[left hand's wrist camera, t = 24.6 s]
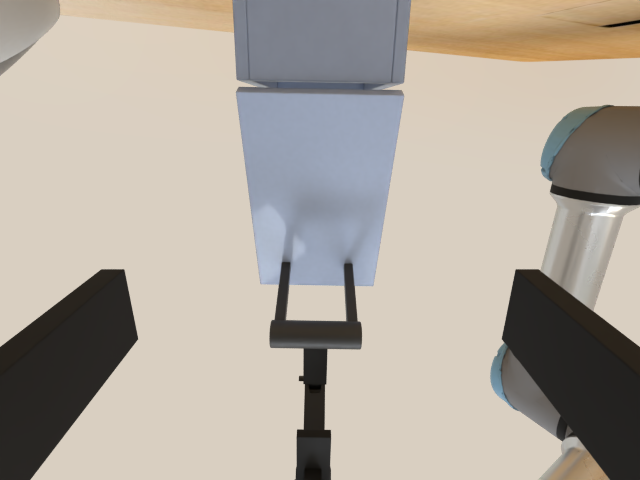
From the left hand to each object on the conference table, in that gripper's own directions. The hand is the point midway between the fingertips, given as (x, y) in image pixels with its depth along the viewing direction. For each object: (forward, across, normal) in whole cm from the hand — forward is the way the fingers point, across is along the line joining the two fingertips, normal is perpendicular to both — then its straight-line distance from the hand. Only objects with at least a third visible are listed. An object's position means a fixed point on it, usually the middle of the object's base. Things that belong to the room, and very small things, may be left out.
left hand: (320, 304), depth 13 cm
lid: (+15, 0, 0) cm, 15 cm away
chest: (+19, 0, -18) cm, 26 cm away
